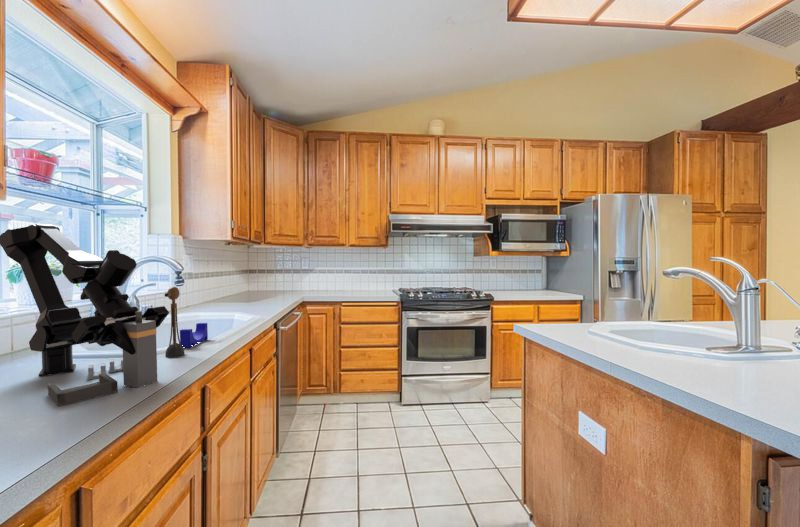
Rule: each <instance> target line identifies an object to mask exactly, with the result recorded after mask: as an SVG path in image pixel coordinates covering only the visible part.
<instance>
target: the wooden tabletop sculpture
mask: <svg viewBox="0 0 800 527" xmlns="http://www.w3.org/2000/svg"><path fill="white" fill-rule="evenodd" d="M164 297H165V298H166V297H167V298H168V299H169V300H171V303H170V319H171V320H170V322H171V323H170V337H169V344H168V347H167V348H166V350H165V358H169V359H172V358H179V357H183V356H185V349H183V347H182V346H181V343H180V332H179V327H178V326H179V325H178V303H177V302H176V300H178V298H179V297H180V290H179V288H178V287H176V286H170V287H169V289H167V292H165V293H164ZM177 341H178V343H177Z"/></svg>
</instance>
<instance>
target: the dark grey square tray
mask: <svg viewBox="0 0 800 527" xmlns="http://www.w3.org/2000/svg"><path fill="white" fill-rule="evenodd" d="M118 387H119V386H118V380H116V379H115V378H113V377H111V375H109V374H108V373H107V374H105V373H101V374H99V378H98V381H97V382H93V383H92V382H91V383H88V384H83V385H78V386H74V387H70V388H65V389H61V388H60V387H59V386H58V385H57V384H56V383H55V382H53V383H50V384H48V383H47V392H48V394H47V396H49V397H50V399H51V400H52V401H53V402H54V404H56V406H57V407H62V406H66V405H70V404H71V405H72V404H75V403H79V402H82V401H87V400H91V399H95V398H99V397H103V396H106V395H107V396H108V395H111V394H112V395H113V394H116V393H119V391H118ZM115 392H116V393H115Z"/></svg>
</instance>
